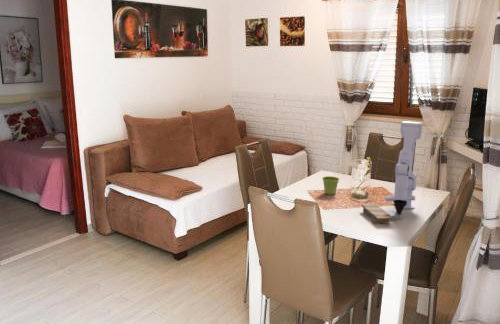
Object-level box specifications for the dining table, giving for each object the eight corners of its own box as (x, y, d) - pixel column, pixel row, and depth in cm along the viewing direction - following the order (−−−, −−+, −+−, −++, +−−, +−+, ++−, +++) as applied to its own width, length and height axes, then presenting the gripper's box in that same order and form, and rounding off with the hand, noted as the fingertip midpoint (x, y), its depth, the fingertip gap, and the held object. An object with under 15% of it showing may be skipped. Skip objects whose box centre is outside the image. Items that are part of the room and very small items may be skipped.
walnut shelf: (360, 210, 227) (361, 204, 227) (374, 210, 229) (375, 203, 228) (377, 225, 208) (377, 218, 207) (392, 224, 209) (393, 217, 208)
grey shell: (373, 214, 222) (374, 210, 222) (392, 213, 224) (393, 209, 223) (380, 220, 215) (381, 216, 214) (400, 219, 216) (400, 215, 216)
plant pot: (339, 196, 251) (340, 181, 249) (322, 195, 251) (323, 180, 249) (337, 191, 260) (337, 176, 258) (320, 190, 260) (321, 176, 258)
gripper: (390, 190, 212) (388, 218, 215) (419, 189, 214) (416, 216, 217) (384, 186, 219) (381, 213, 222) (412, 185, 221) (409, 211, 224)
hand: (398, 214), depth 220 cm, fingers closed
